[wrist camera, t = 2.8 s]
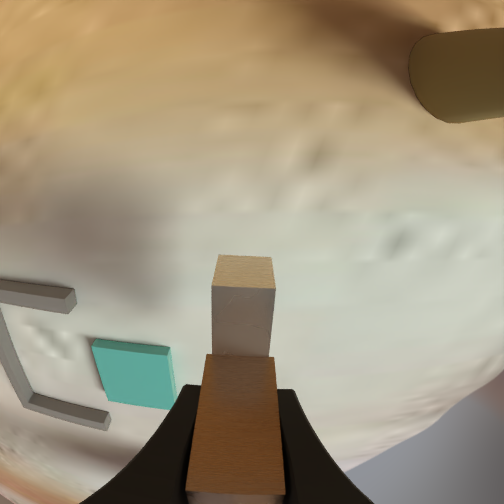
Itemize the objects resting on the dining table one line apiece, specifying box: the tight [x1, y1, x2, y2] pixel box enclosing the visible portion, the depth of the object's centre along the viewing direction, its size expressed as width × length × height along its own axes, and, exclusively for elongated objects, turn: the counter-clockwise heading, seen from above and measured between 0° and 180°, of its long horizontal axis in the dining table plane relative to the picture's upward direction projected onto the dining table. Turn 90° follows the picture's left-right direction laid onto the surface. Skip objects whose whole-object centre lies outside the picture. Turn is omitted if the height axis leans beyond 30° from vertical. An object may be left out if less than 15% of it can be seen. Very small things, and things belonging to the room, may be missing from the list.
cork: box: [408, 28, 504, 123], centre depth 10 cm, size 6×6×11 cm
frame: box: [0, 280, 111, 431], centre depth 22 cm, size 14×10×2 cm
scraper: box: [185, 255, 286, 504], centre depth 10 cm, size 8×2×8 cm, turn 177°
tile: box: [91, 339, 177, 410], centre depth 23 cm, size 6×6×2 cm
